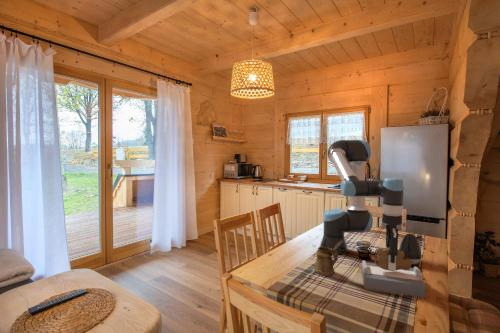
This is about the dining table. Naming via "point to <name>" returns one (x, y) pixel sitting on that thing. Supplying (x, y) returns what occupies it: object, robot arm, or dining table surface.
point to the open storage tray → (393, 280)
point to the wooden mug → (326, 260)
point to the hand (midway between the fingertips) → (390, 267)
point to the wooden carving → (382, 257)
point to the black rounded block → (411, 247)
